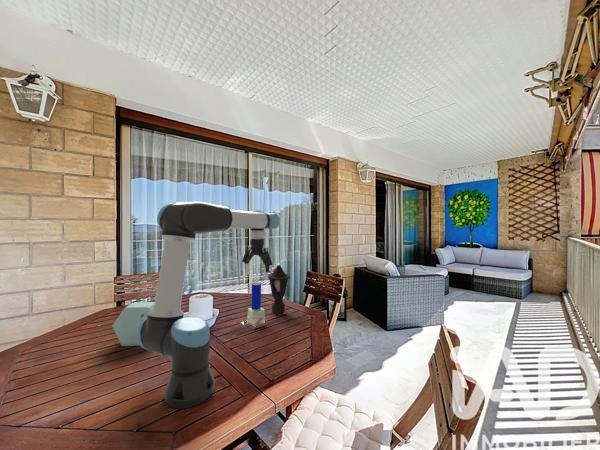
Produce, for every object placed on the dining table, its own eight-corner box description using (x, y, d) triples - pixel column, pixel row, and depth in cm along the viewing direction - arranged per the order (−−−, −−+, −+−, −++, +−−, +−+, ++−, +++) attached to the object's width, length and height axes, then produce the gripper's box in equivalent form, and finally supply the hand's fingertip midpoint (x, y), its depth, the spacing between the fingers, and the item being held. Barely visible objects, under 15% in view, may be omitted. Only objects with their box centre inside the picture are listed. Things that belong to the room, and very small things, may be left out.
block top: (252, 319, 137) (252, 312, 137) (247, 315, 143) (247, 308, 143) (264, 317, 141) (264, 309, 141) (259, 313, 147) (259, 306, 147)
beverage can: (262, 308, 143) (263, 281, 142) (256, 311, 138) (256, 283, 138) (255, 306, 145) (256, 280, 145) (249, 309, 141) (249, 282, 141)
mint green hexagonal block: (146, 347, 124) (171, 311, 125) (138, 355, 116) (164, 317, 117) (115, 328, 122) (140, 292, 123) (104, 336, 114) (131, 297, 115)
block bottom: (254, 327, 137) (254, 319, 137) (247, 323, 142) (247, 316, 142) (264, 323, 142) (265, 316, 142) (257, 319, 147) (257, 313, 147)
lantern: (289, 318, 152) (290, 267, 151) (264, 317, 152) (265, 267, 151) (290, 309, 166) (291, 263, 166) (267, 309, 167) (268, 263, 166)
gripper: (279, 239, 138) (278, 278, 138) (245, 236, 151) (245, 272, 151) (270, 239, 131) (269, 280, 132) (236, 237, 145) (235, 274, 145)
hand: (256, 276), depth 142 cm, fingers open, 13 cm apart
